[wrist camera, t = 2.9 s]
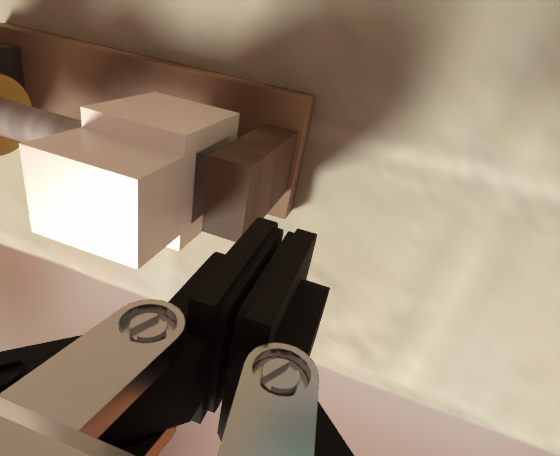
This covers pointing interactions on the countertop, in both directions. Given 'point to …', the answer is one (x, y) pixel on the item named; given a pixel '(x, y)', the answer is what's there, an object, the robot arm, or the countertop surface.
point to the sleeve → (124, 176)
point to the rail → (171, 81)
